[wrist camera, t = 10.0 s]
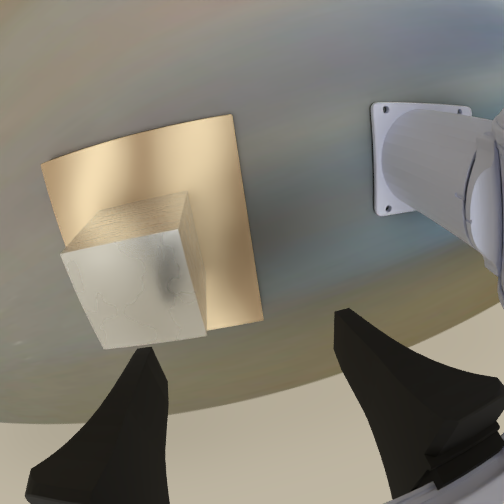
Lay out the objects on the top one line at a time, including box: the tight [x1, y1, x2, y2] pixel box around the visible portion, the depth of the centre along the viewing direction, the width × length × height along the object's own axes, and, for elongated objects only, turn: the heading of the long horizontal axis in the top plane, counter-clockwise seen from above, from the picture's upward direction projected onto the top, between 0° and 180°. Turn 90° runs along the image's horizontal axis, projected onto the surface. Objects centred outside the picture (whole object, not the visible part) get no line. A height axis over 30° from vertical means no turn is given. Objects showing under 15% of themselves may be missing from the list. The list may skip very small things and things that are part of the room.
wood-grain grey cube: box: [60, 191, 207, 349], centre depth 16 cm, size 6×6×6 cm
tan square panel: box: [41, 114, 264, 330], centre depth 18 cm, size 12×14×6 cm
